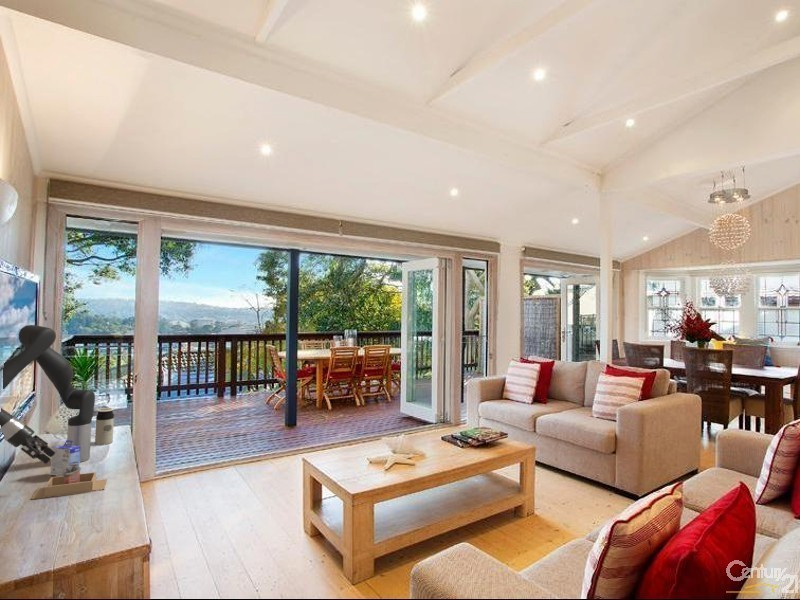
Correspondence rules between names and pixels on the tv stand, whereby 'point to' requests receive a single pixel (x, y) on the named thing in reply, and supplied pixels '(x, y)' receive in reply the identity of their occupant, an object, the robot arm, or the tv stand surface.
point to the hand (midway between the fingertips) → (51, 458)
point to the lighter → (72, 474)
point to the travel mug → (104, 426)
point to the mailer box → (70, 486)
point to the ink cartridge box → (64, 458)
